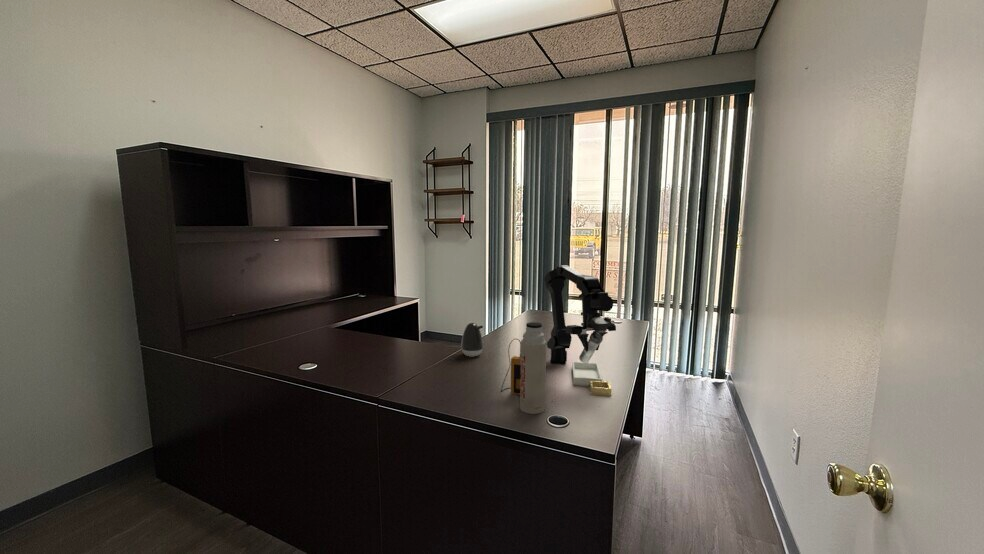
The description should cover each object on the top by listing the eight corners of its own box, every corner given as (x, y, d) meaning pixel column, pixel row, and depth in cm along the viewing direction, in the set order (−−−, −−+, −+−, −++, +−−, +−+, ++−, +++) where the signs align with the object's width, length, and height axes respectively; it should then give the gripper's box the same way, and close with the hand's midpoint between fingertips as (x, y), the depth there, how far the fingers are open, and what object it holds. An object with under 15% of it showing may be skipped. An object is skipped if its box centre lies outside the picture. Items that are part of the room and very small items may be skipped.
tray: (573, 385, 146) (574, 377, 145) (572, 368, 163) (572, 361, 163) (602, 387, 144) (602, 379, 143) (597, 370, 162) (597, 363, 161)
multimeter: (546, 387, 143) (547, 334, 141) (541, 398, 134) (542, 341, 131) (508, 382, 148) (508, 331, 146) (500, 392, 138) (500, 337, 136)
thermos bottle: (522, 414, 122) (523, 326, 119) (518, 403, 130) (519, 320, 127) (547, 413, 123) (549, 326, 120) (541, 402, 131) (543, 320, 127)
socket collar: (591, 394, 137) (591, 387, 137) (589, 386, 144) (589, 380, 144) (611, 395, 136) (611, 389, 136) (608, 388, 143) (609, 381, 143)
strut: (578, 361, 153) (590, 339, 143) (578, 352, 156) (590, 330, 147) (589, 365, 153) (602, 343, 143) (590, 355, 156) (602, 334, 147)
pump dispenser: (478, 359, 174) (478, 326, 172) (457, 357, 178) (457, 324, 176) (486, 353, 183) (487, 321, 182) (466, 350, 187) (466, 319, 185)
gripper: (578, 313, 138) (580, 357, 138) (624, 309, 144) (625, 352, 144) (564, 310, 149) (565, 351, 149) (606, 307, 154) (608, 347, 154)
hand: (591, 350), depth 149 cm, fingers closed on strut, 4 cm apart
